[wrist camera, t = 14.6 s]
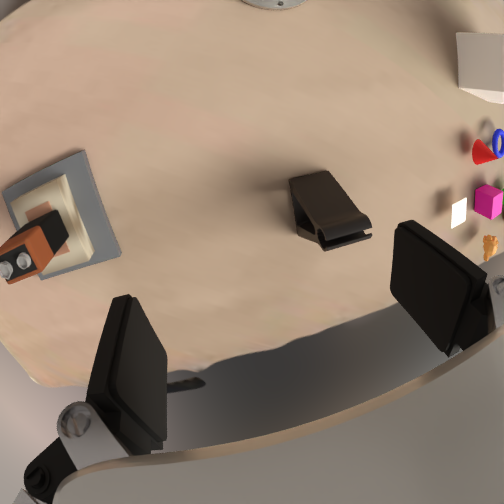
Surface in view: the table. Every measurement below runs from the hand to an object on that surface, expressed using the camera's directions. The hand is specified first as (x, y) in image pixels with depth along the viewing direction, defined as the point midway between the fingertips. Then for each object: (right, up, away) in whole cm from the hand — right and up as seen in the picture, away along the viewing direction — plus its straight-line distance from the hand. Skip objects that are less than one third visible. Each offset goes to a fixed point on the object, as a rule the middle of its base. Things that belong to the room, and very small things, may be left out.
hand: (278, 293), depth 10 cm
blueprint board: (-29, +6, +26) cm, 39 cm away
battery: (-28, +4, +22) cm, 36 cm away
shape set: (+52, +16, +38) cm, 66 cm away
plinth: (-29, +6, +25) cm, 38 cm away
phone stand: (+8, +9, +32) cm, 34 cm away
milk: (+43, +37, +24) cm, 62 cm away
